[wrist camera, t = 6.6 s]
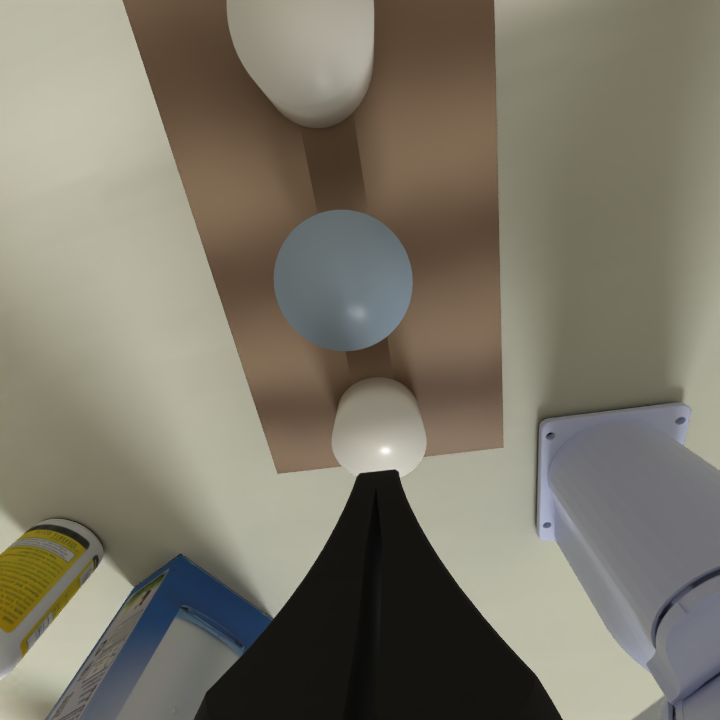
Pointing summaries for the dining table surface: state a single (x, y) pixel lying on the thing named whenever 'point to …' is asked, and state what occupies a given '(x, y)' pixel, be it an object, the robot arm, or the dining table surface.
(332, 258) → the middle knob
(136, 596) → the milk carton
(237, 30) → the knob
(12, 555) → the supplement bottle
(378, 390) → the knob
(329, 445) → the knob panel
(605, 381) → the dining table surface
